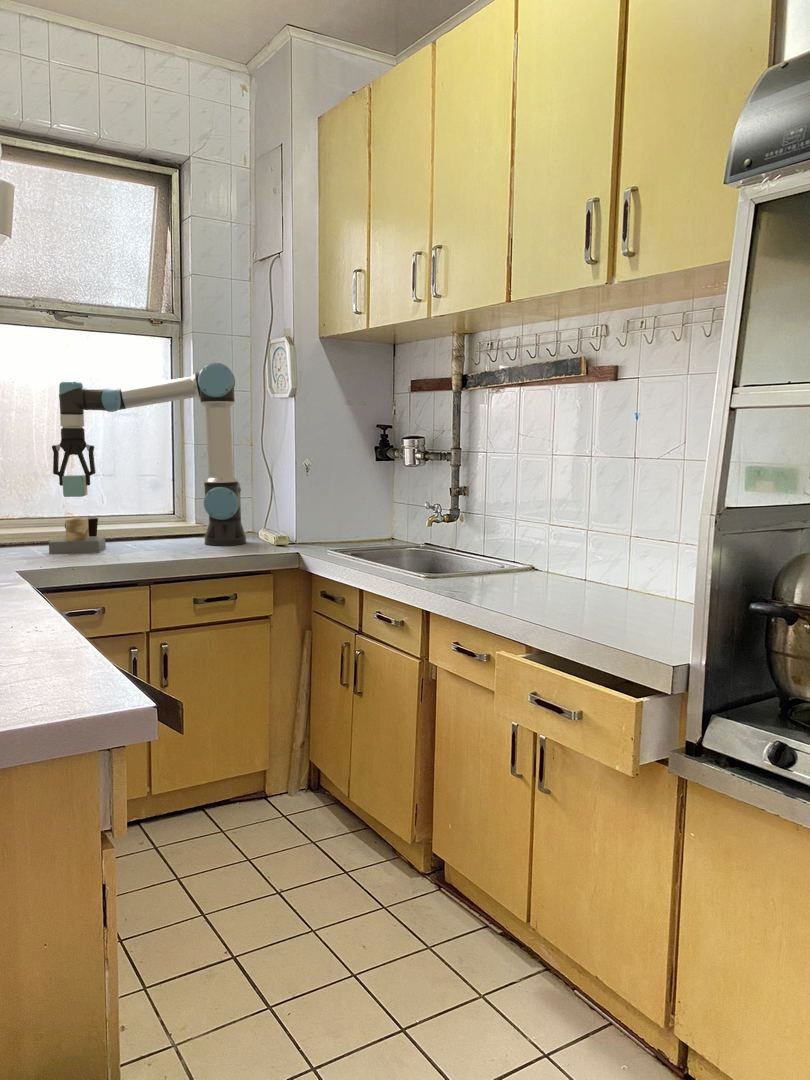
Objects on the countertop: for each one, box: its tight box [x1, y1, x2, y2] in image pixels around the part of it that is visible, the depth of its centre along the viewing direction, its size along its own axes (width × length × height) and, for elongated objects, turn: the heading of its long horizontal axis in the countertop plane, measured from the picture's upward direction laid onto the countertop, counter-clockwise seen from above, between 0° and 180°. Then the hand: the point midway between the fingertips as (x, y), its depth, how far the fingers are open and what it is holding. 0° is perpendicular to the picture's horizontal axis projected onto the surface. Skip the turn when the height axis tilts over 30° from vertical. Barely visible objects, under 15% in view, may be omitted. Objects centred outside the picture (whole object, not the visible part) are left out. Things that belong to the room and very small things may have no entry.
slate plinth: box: [48, 535, 107, 555], centre depth 287 cm, size 16×14×4 cm
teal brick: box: [62, 474, 87, 498], centre depth 284 cm, size 6×8×7 cm
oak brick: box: [64, 517, 89, 541], centre depth 286 cm, size 6×8×7 cm
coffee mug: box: [64, 516, 99, 536], centre depth 300 cm, size 12×9×10 cm
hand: (75, 495), depth 284 cm, fingers closed on teal brick, 6 cm apart
